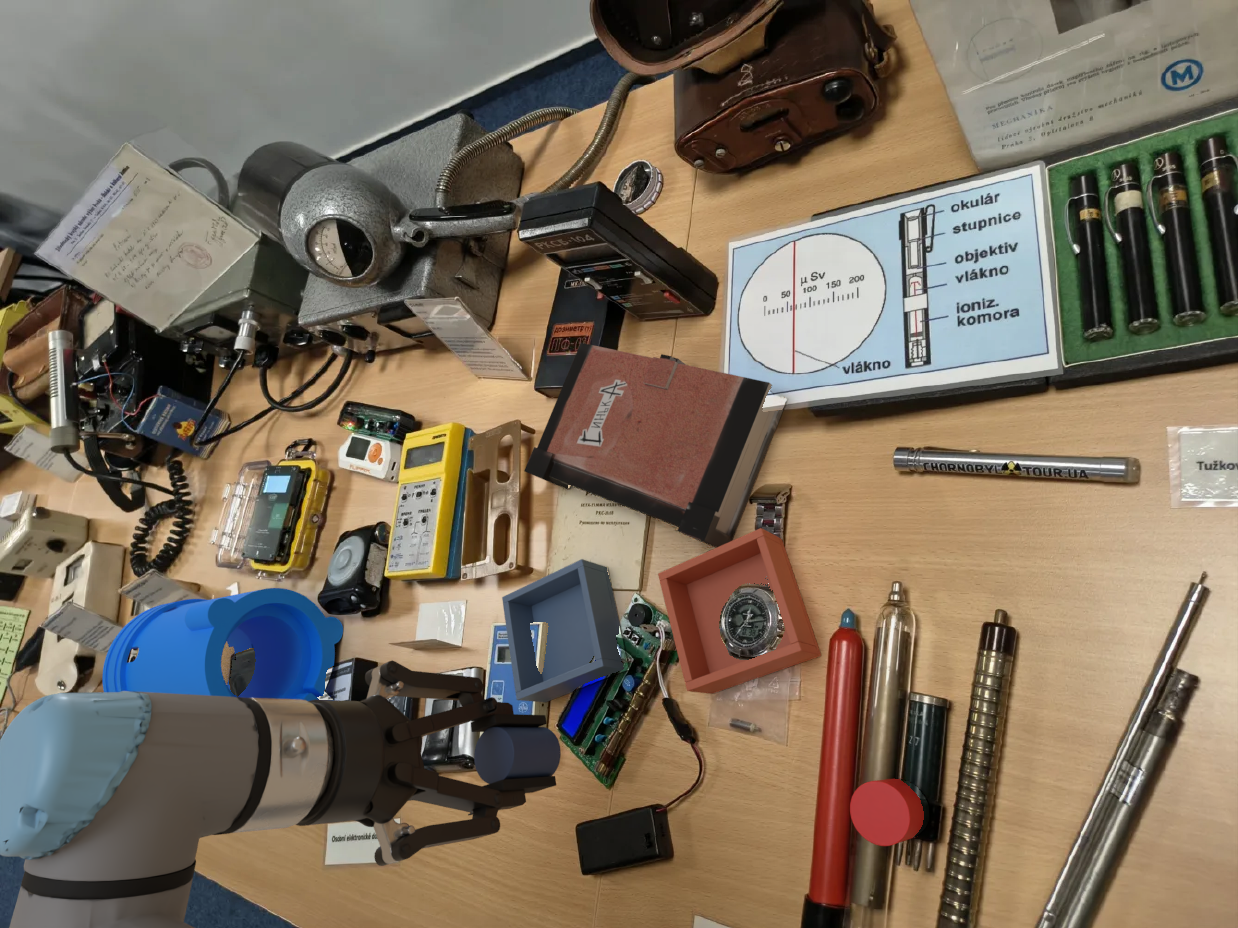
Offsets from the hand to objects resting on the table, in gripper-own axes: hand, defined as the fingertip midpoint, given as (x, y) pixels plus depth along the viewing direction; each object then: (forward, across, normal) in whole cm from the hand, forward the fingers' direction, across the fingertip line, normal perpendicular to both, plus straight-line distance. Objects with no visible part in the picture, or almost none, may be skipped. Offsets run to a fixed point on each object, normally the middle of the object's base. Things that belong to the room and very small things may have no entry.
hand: (538, 753), depth 66 cm
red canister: (+13, -10, -25) cm, 30 cm away
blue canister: (0, 0, 0) cm, 0 cm away
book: (+14, +30, -12) cm, 36 cm away
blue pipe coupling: (+14, +25, +56) cm, 63 cm away
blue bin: (+13, +13, +3) cm, 19 cm away
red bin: (+13, +8, -17) cm, 23 cm away
